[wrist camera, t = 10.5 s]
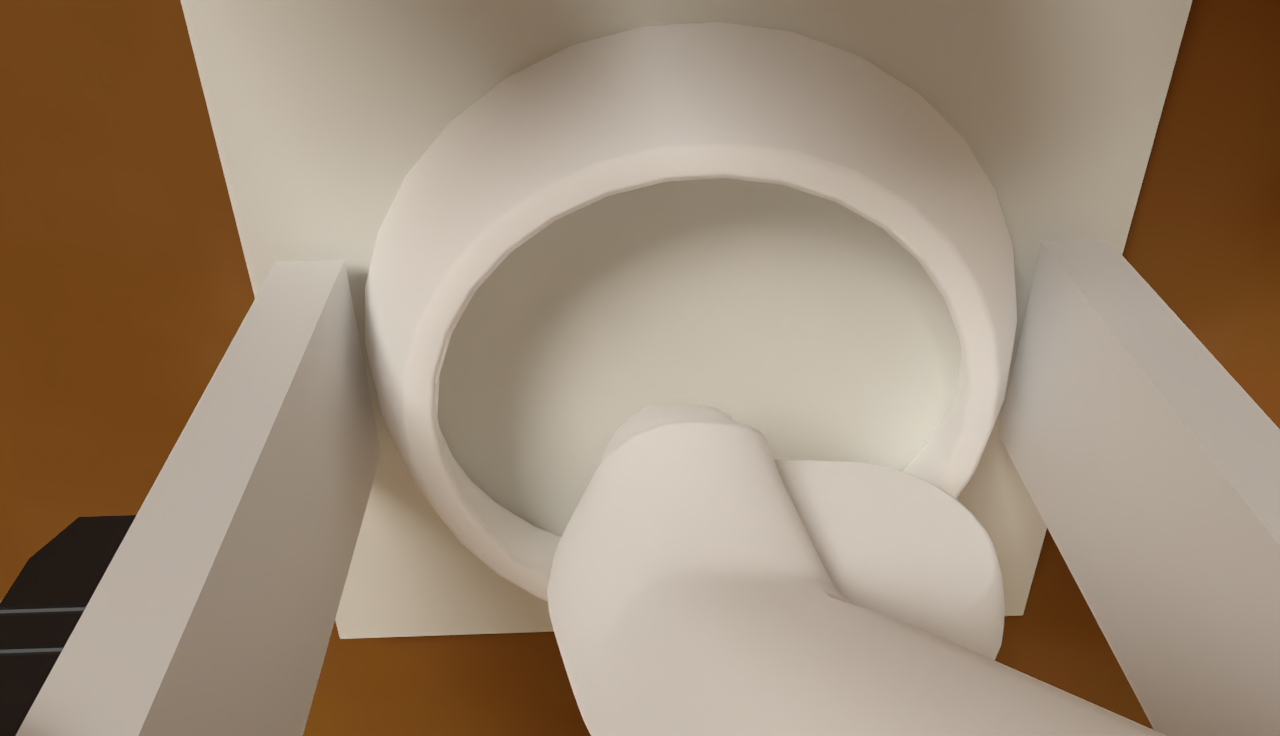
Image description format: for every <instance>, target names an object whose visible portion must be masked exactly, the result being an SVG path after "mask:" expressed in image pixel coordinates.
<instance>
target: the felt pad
mask: <svg viewBox="0 0 1280 736" xmlns="http://www.w3.org/2000/svg"><path fill="white" fill-rule="evenodd" d="M181 4H182V8H183V12H184V16H185V20H186V24H187V28H188V32H189V36H190V40H191V44H192V48H193V52H194V56H195V60H196V64H197V68H198V72H199V76H200V80H201V84H202V88H203V92H204V96H205V100H206V104H207V108H208V112H209V116H210V120H211V124H212V128H213V132H214V136H215V140H216V144H217V148H218V152H219V156H220V160H221V164H222V168H223V172H224V176H225V180H226V184H227V188H228V192H229V196H230V200H231V204H232V208H233V212H234V216H235V220H236V224H237V228H238V232H239V236H240V240H241V244H242V248H243V252H244V256H245V260H246V264H247V268H248V272H249V276H250V280H251V284H252V288H253V292H254V296H255V298H256V297H257V295H258V293H259V291H260V289H261V288H262V286H263V284H264V282H265V280H266V278H267V277H268V275H269V273H270V271H271V269H272V267H273V266H274V264H275V262H277V261H315V260H345V265H346V270H347V275H348V281H349V286H350V291H351V297H352V302H353V307H354V312H355V318H356V323H357V328H358V333H359V339H360V344H361V349H362V354H363V360H364V365H365V370H366V376H367V381H368V386H369V391H370V397H371V402H372V407H373V412H374V418H375V423H376V428H377V434H378V439H379V444H380V449H381V456H380V460H379V463H378V467H377V470H376V474H375V478H374V481H373V485H372V488H371V492H370V496H369V499H368V503H367V506H366V510H365V513H364V517H363V521H362V524H361V528H360V531H359V535H358V539H357V542H356V546H355V549H354V553H353V557H352V560H351V564H350V567H349V571H348V575H347V578H346V582H345V585H344V589H343V593H342V596H341V600H340V603H339V607H338V611H337V614H336V618H335V620H336V624H337V628H338V632H339V636H340V639H350V638H379V637H408V636H437V635H466V634H495V633H525V632H554V630H553V626H552V622H551V618H550V615H549V607H548V601H545V600H543V599H540V598H538V597H536V596H534V595H533V594H531V593H529V592H527V591H526V590H524V589H522V588H521V587H519V586H517V585H515V584H514V583H512V582H510V581H508V580H507V579H505V578H503V577H502V576H500V575H498V574H497V573H496V572H494V571H493V570H492V569H491V568H490V567H488V566H487V565H486V564H485V563H484V562H483V561H481V560H480V559H479V558H478V557H477V556H475V555H474V554H473V553H472V552H471V551H470V550H468V549H467V548H466V547H465V546H464V545H462V544H461V542H460V541H459V540H458V539H457V537H456V536H455V535H454V534H453V532H452V531H451V530H450V529H449V527H448V526H447V525H446V524H445V522H444V521H443V520H442V519H441V517H440V516H439V515H438V514H437V512H436V511H435V510H434V508H433V507H432V506H431V505H430V503H429V502H428V500H427V499H426V498H425V496H424V495H423V494H422V492H421V491H420V490H419V488H418V487H417V486H416V484H415V483H414V480H413V478H412V476H411V474H410V472H409V470H408V468H407V466H406V464H405V462H404V460H403V458H402V456H401V454H400V452H399V450H398V448H397V446H396V444H395V442H394V440H393V438H392V436H391V433H390V431H389V429H388V427H387V424H386V422H385V420H384V417H383V415H382V412H381V408H380V404H379V400H378V395H377V391H376V387H375V383H374V379H373V375H372V370H371V366H370V362H369V358H368V354H367V349H366V345H365V286H366V281H367V277H368V273H369V269H370V264H371V260H372V256H373V252H374V247H375V243H376V239H377V235H378V231H379V229H380V227H381V225H382V223H383V221H384V219H385V217H386V215H387V213H388V211H389V209H390V207H391V205H392V203H393V201H394V199H395V197H396V195H397V193H398V191H399V189H400V187H401V185H402V183H403V181H404V179H405V177H406V175H407V174H408V172H409V171H410V170H411V169H412V167H413V166H414V165H415V164H416V163H417V161H418V160H419V159H420V158H421V157H422V155H423V154H424V153H425V152H426V150H427V149H428V148H429V147H430V146H431V144H432V143H433V142H434V141H435V139H436V138H437V137H438V136H439V135H440V133H441V132H442V131H443V130H444V128H445V127H446V126H447V125H448V124H449V123H450V122H451V121H452V120H453V119H455V118H456V117H457V116H458V115H460V114H461V113H462V112H463V111H465V110H466V109H467V108H468V107H470V106H471V105H472V104H474V103H475V102H476V101H477V100H479V99H480V98H481V97H482V96H484V95H485V94H486V93H487V92H489V91H490V90H491V89H492V88H494V87H495V86H496V85H498V84H499V83H500V82H501V81H503V80H504V79H505V78H507V77H509V76H511V75H513V74H515V73H517V72H519V71H521V70H523V69H525V68H527V67H529V66H531V65H533V64H535V63H537V62H539V61H541V60H543V59H545V58H547V57H549V56H551V55H553V54H555V53H557V52H559V51H561V50H563V49H565V48H567V47H569V46H572V45H576V44H579V43H583V42H587V41H591V40H594V39H598V38H602V37H605V36H609V35H613V34H616V33H620V32H624V31H628V30H631V29H635V28H639V27H642V26H657V25H672V24H688V23H703V22H725V23H732V24H740V25H747V26H754V27H762V28H769V29H776V30H784V31H791V32H794V33H797V34H800V35H802V36H805V37H808V38H811V39H814V40H816V41H819V42H822V43H825V44H828V45H830V46H833V47H836V48H839V49H842V50H844V51H847V52H850V53H853V54H856V55H858V56H860V57H862V58H864V59H865V60H867V61H868V62H870V63H872V64H873V65H875V66H876V67H878V68H880V69H881V70H883V71H884V72H886V73H888V74H889V75H891V76H892V77H894V78H896V79H897V80H899V81H900V82H902V83H904V84H905V85H907V86H908V87H910V88H912V89H913V90H915V91H916V92H918V93H919V94H920V95H921V96H922V97H923V98H924V99H925V100H926V101H927V102H928V103H929V104H930V105H931V106H932V107H933V108H934V109H935V110H936V111H937V112H938V113H939V114H940V115H941V116H942V117H943V118H944V119H945V120H946V121H947V122H948V123H949V124H950V125H951V126H952V127H953V128H954V129H955V130H956V131H957V132H958V133H959V134H960V135H961V136H962V137H963V138H964V139H965V141H966V142H967V144H968V146H969V147H970V149H971V151H972V152H973V154H974V156H975V157H976V159H977V161H978V162H979V164H980V166H981V167H982V169H983V171H984V172H985V174H986V175H987V177H988V179H989V180H990V182H991V184H992V185H993V187H994V189H995V190H996V193H997V196H998V200H999V203H1000V206H1001V209H1002V212H1003V216H1004V219H1005V222H1006V225H1007V229H1008V232H1009V235H1010V238H1011V241H1012V245H1013V255H1014V271H1015V288H1016V305H1017V325H1016V331H1015V338H1014V345H1013V351H1012V357H1011V363H1010V369H1009V375H1008V380H1007V386H1006V392H1005V398H1004V401H1003V404H1002V406H1001V409H1000V411H999V414H998V417H997V419H996V422H995V424H994V427H993V429H992V432H991V434H990V437H989V439H988V441H987V444H986V446H985V449H984V451H983V454H982V456H981V459H980V461H979V463H978V466H977V468H976V471H975V473H974V474H973V476H972V477H971V479H970V480H969V482H968V483H967V485H966V486H965V488H964V489H963V491H962V492H961V494H960V495H959V497H958V498H957V500H958V501H959V502H960V503H961V504H962V505H963V506H965V507H966V508H967V509H968V510H969V511H970V512H971V513H972V514H973V515H974V516H975V517H976V519H977V520H978V521H979V522H980V523H981V525H982V526H983V527H984V528H985V530H986V531H987V533H988V535H989V537H990V538H991V540H992V542H993V544H994V548H995V551H996V554H997V557H998V561H999V565H1000V569H1001V573H1002V580H1003V592H1004V605H1005V614H1004V616H1021V615H1023V613H1024V609H1025V606H1026V602H1027V599H1028V595H1029V591H1030V588H1031V584H1032V580H1033V577H1034V573H1035V570H1036V566H1037V562H1038V559H1039V555H1040V551H1041V548H1042V544H1043V541H1044V537H1045V533H1046V530H1047V526H1046V524H1045V522H1044V521H1043V519H1042V517H1041V515H1040V513H1039V511H1038V509H1037V507H1036V505H1035V504H1034V502H1033V500H1032V498H1031V496H1030V494H1029V492H1028V490H1027V488H1026V486H1025V485H1024V483H1023V481H1022V479H1021V477H1020V475H1019V473H1018V471H1017V469H1016V467H1015V466H1014V464H1013V462H1012V460H1011V458H1010V456H1009V454H1008V452H1007V450H1006V449H1005V447H1004V445H1003V443H1002V441H1001V439H1000V437H999V435H998V433H999V428H1000V424H1001V419H1002V415H1003V411H1004V406H1005V402H1006V397H1007V393H1008V388H1009V384H1010V379H1011V375H1012V370H1013V366H1014V361H1015V357H1016V352H1017V348H1018V343H1019V339H1020V335H1021V330H1022V326H1023V321H1024V317H1025V312H1026V308H1027V303H1028V299H1029V294H1030V290H1031V285H1032V281H1033V276H1034V272H1035V268H1036V263H1037V259H1038V254H1039V250H1040V245H1041V241H1076V240H1109V241H1110V242H1111V244H1112V245H1113V246H1114V247H1115V248H1116V249H1117V250H1118V251H1119V252H1120V254H1121V255H1122V254H1123V251H1124V247H1125V243H1126V240H1127V236H1128V232H1129V229H1130V225H1131V222H1132V218H1133V214H1134V211H1135V207H1136V203H1137V200H1138V196H1139V193H1140V189H1141V185H1142V182H1143V178H1144V174H1145V171H1146V167H1147V164H1148V160H1149V156H1150V153H1151V149H1152V145H1153V142H1154V138H1155V134H1156V131H1157V127H1158V124H1159V120H1160V116H1161V113H1162V109H1163V105H1164V102H1165V98H1166V95H1167V91H1168V87H1169V84H1170V80H1171V76H1172V73H1173V69H1174V66H1175V62H1176V58H1177V55H1178V51H1179V47H1180V44H1181V40H1182V37H1183V33H1184V29H1185V26H1186V22H1187V18H1188V15H1189V11H1190V8H1191V4H1192V0H181ZM961 356H962V354H961V344H960V340H959V337H958V334H957V331H956V329H955V326H954V323H953V320H952V318H951V315H950V312H949V309H948V307H947V304H946V301H945V299H944V298H943V296H942V295H941V293H940V292H939V290H938V289H937V288H936V286H935V285H934V283H933V282H932V280H931V279H930V277H929V276H928V274H927V273H926V271H925V270H924V268H923V267H922V265H921V264H920V263H919V261H918V260H916V259H915V258H914V257H913V256H912V255H911V254H910V253H909V252H908V251H907V250H905V249H904V248H903V247H902V246H901V245H900V244H899V243H898V242H897V241H896V240H894V239H893V238H892V237H891V236H890V235H889V234H888V233H887V232H886V231H885V230H883V229H882V228H881V227H879V226H877V225H875V224H874V223H872V222H870V221H868V220H867V219H865V218H863V217H861V216H860V215H858V214H856V213H854V212H853V211H851V210H849V209H847V208H845V207H844V206H842V205H840V204H838V203H837V202H834V201H831V200H828V199H825V198H822V197H819V196H815V195H812V194H809V193H806V192H803V191H800V190H797V189H794V188H791V187H788V186H784V185H779V184H771V183H763V182H754V181H746V180H738V179H729V178H715V179H700V180H684V181H669V182H662V183H658V184H654V185H650V186H646V187H642V188H638V189H634V190H630V191H626V192H622V193H618V194H614V195H610V196H607V197H605V198H603V199H600V200H598V201H596V202H594V203H592V204H590V205H587V206H585V207H583V208H581V209H579V210H577V211H574V212H572V213H570V214H568V215H566V216H564V217H561V218H559V219H557V220H555V221H554V222H552V223H551V224H549V225H548V226H547V227H545V228H544V229H543V230H541V231H540V232H538V233H537V234H536V235H534V236H533V237H531V238H530V239H529V240H527V241H526V242H525V243H523V244H522V245H520V246H519V247H518V248H516V249H515V250H513V251H512V252H511V253H510V254H509V255H508V256H507V257H506V258H505V259H504V260H503V261H502V263H501V264H500V265H499V266H498V267H497V268H496V269H495V270H494V271H493V272H492V273H491V275H490V276H489V277H488V278H487V279H486V280H485V281H484V282H483V283H482V284H481V286H480V287H479V288H478V289H477V290H476V291H475V293H474V295H473V297H472V298H471V300H470V302H469V303H468V305H467V307H466V309H465V310H464V312H463V314H462V316H461V317H460V319H459V321H458V323H457V324H456V326H455V328H454V330H453V331H452V334H451V337H450V341H449V344H448V348H447V351H446V354H445V358H444V361H443V365H442V368H441V371H440V375H439V394H438V423H439V428H440V430H441V432H442V434H443V436H444V439H445V441H446V443H447V445H448V447H449V449H450V452H451V454H452V456H453V457H454V459H455V460H456V461H457V463H458V464H459V465H460V467H461V468H462V469H463V471H464V472H465V473H466V475H467V476H468V477H469V479H470V480H471V481H472V482H473V483H474V484H476V485H477V486H478V487H479V488H480V489H481V490H482V491H483V492H484V493H486V494H487V495H488V496H489V497H490V498H491V499H492V500H493V501H495V502H496V503H497V504H499V505H500V506H502V507H504V508H505V509H507V510H509V511H510V512H512V513H513V514H515V515H517V516H518V517H520V518H522V519H523V520H525V521H526V522H528V523H530V524H531V525H533V526H535V527H538V528H540V529H543V530H545V531H548V532H550V533H553V534H555V535H558V536H560V537H562V535H563V533H564V531H565V529H566V527H567V525H568V523H569V521H570V519H571V517H572V515H573V513H574V511H575V509H576V507H577V506H578V504H579V502H580V500H581V498H582V496H583V494H584V492H585V490H586V488H587V486H588V485H589V483H590V481H591V479H592V477H593V475H594V473H595V471H596V469H597V468H598V466H599V465H600V463H601V460H602V456H603V452H604V450H605V448H606V446H607V445H608V443H609V441H610V440H611V438H612V436H613V435H614V433H615V432H616V431H617V430H618V429H619V428H620V427H621V426H622V425H623V424H624V423H625V422H626V420H627V419H628V418H629V417H630V416H632V415H634V414H636V413H638V412H640V411H642V410H643V409H645V408H647V407H649V406H654V405H663V404H673V403H696V404H701V405H705V406H710V407H714V408H716V409H718V410H720V411H721V412H723V413H725V414H727V415H728V416H730V417H731V418H732V419H733V420H734V421H735V422H736V423H737V424H745V425H747V426H749V427H751V428H753V429H756V430H758V431H760V432H761V433H762V434H763V436H764V437H765V439H766V441H767V443H768V445H769V447H770V450H771V452H772V455H773V457H774V460H815V461H841V462H861V463H867V464H872V465H878V466H884V467H889V468H892V469H895V470H899V471H903V470H904V469H905V468H906V466H907V465H908V464H909V463H910V462H911V461H912V460H913V459H914V458H915V457H916V456H917V454H918V453H919V452H920V451H921V450H922V449H923V448H924V447H925V446H926V445H927V444H928V442H929V441H930V439H931V437H932V436H933V434H934V433H935V431H936V430H937V428H938V426H939V425H940V423H941V422H942V420H943V418H944V417H945V415H946V414H947V412H948V409H949V407H950V404H951V401H952V399H953V396H954V393H955V391H956V388H957V384H958V377H959V370H960V363H961Z"/></svg>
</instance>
